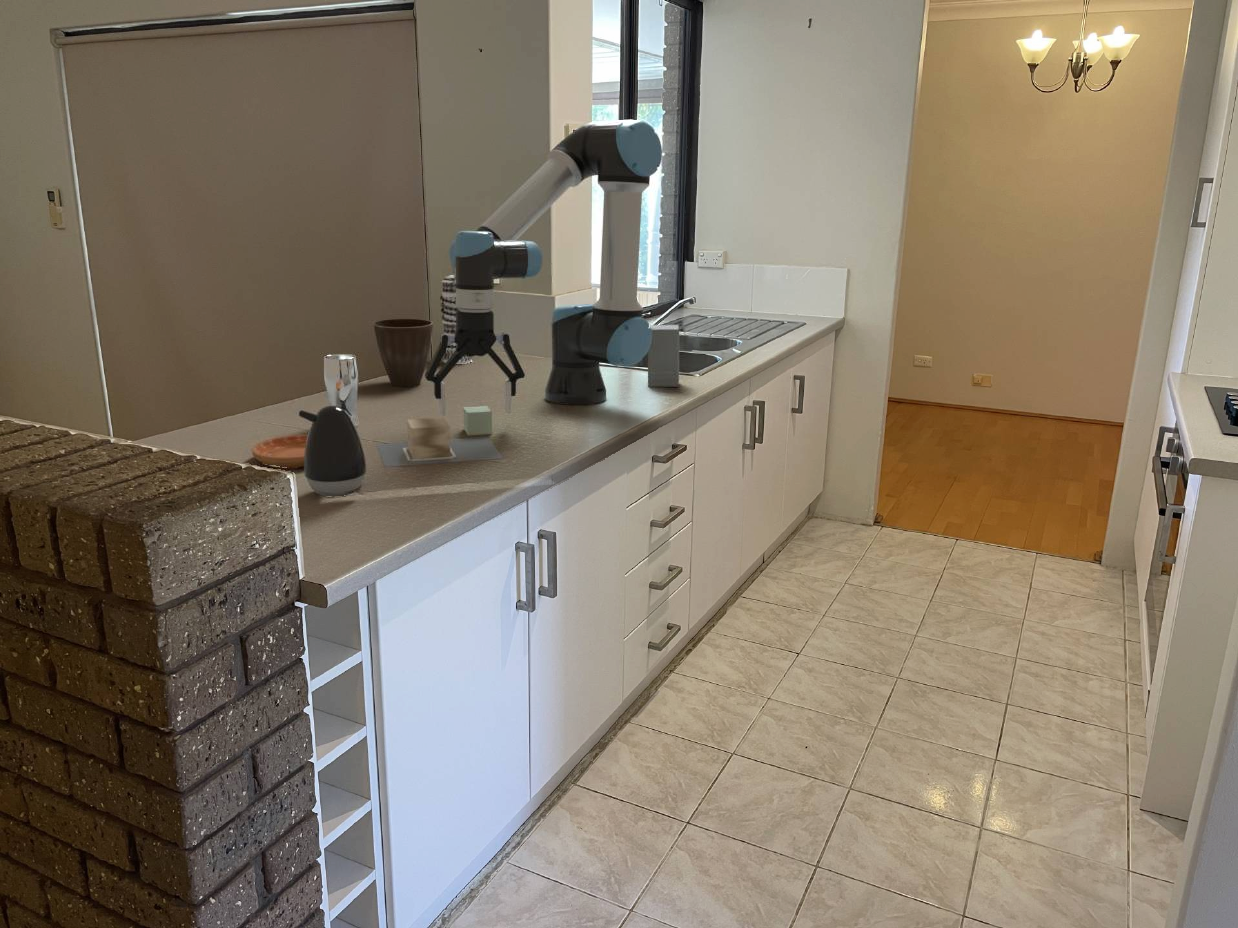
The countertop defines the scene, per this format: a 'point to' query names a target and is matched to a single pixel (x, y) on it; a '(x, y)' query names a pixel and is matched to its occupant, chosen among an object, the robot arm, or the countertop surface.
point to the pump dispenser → (333, 453)
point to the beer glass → (342, 382)
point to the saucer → (282, 451)
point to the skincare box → (664, 356)
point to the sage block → (477, 420)
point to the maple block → (428, 438)
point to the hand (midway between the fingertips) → (475, 412)
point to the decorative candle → (450, 316)
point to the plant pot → (404, 348)
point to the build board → (458, 453)
